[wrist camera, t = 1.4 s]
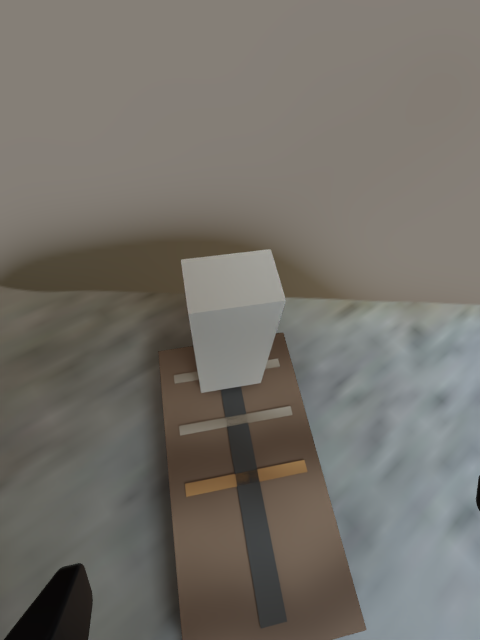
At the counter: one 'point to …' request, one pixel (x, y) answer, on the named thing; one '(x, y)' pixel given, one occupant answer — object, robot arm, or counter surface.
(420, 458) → the counter surface
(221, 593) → the console
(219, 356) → the fader
